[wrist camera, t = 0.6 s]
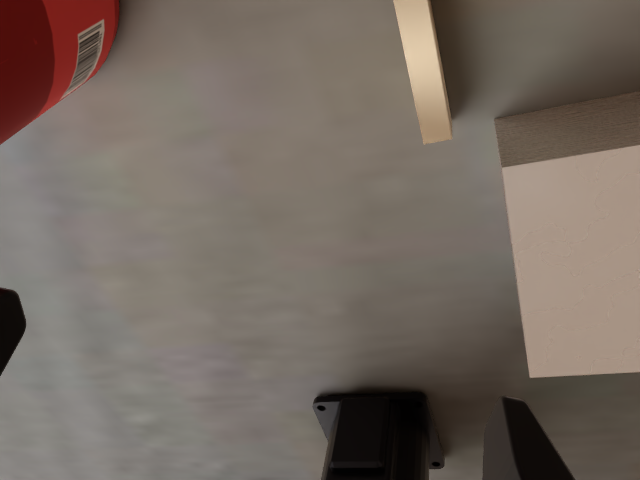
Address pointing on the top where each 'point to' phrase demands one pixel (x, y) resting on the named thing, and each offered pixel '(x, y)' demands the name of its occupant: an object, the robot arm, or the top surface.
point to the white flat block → (576, 233)
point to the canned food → (49, 53)
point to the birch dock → (425, 68)
